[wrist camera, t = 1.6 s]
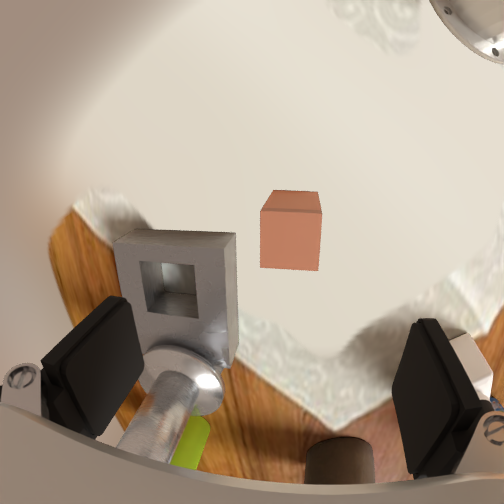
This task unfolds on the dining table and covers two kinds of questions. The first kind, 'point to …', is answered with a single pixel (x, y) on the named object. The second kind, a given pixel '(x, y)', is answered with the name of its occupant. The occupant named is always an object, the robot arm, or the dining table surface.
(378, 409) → the dining table surface
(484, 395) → the medicine bottle
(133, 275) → the slotted block
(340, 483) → the pillar candle
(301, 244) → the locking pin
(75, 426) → the robot arm
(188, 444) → the soap dispenser
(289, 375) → the dining table surface
